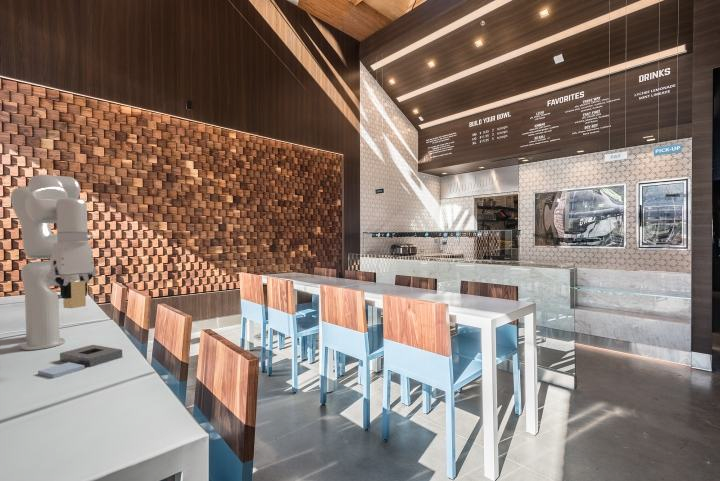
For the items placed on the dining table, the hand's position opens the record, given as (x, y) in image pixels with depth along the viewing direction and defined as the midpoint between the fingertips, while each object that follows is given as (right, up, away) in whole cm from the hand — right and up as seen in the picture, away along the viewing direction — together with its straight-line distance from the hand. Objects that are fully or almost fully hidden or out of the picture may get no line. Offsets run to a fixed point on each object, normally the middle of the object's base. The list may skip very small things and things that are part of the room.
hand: (74, 296), depth 114 cm
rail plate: (+1, -22, +6) cm, 23 cm away
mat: (0, -22, -5) cm, 22 cm away
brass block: (0, -3, 0) cm, 3 cm away
